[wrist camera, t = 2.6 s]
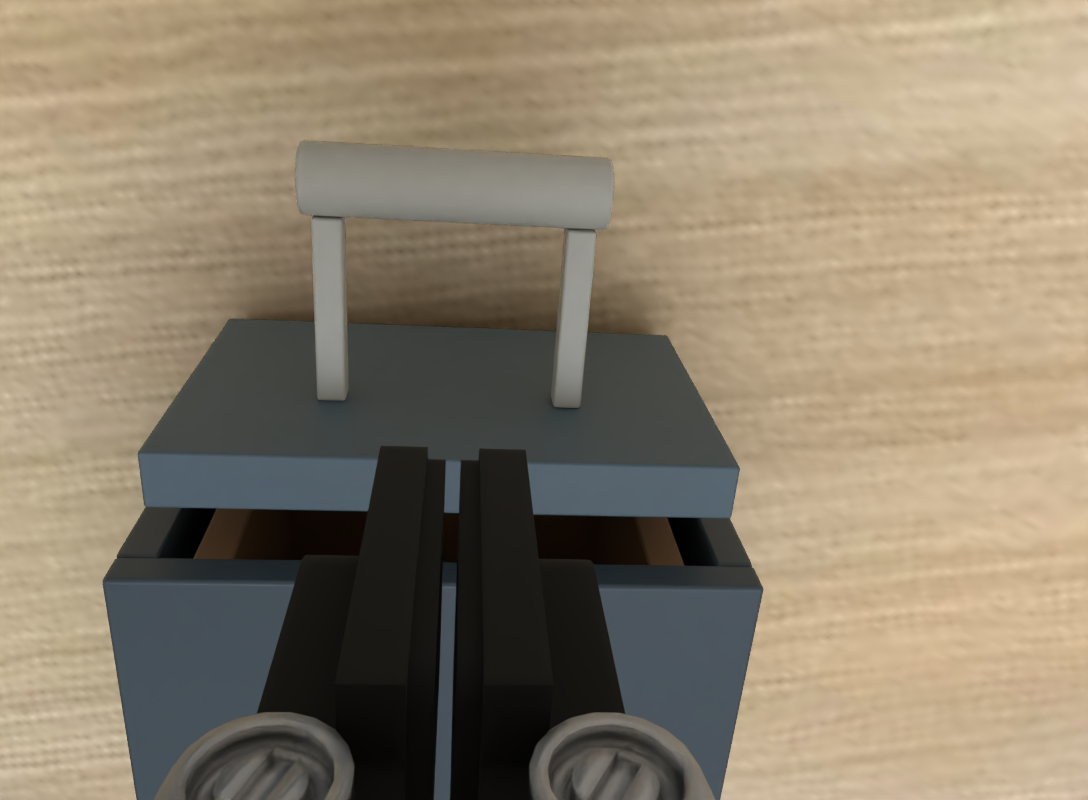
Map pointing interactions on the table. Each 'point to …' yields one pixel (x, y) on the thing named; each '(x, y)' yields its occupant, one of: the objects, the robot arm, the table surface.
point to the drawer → (440, 385)
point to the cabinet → (263, 597)
